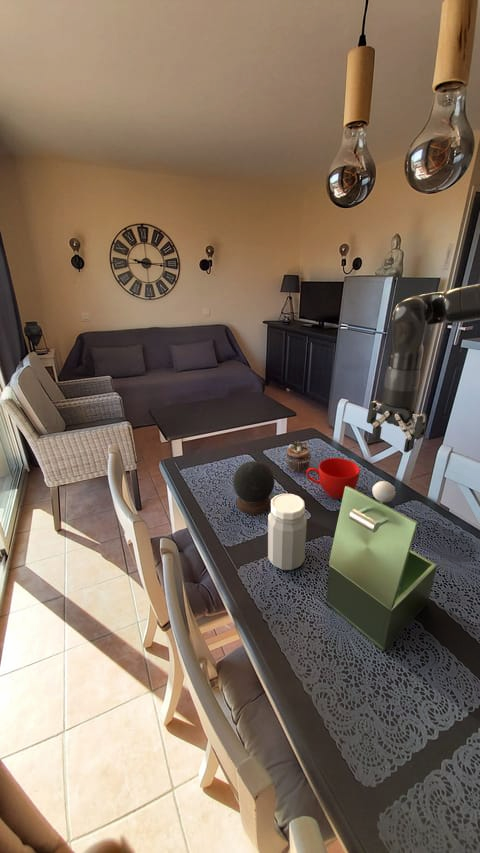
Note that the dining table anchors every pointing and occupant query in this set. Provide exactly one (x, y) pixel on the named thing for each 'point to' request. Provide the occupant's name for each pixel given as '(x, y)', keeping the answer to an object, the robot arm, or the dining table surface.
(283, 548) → the jar
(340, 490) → the ceramic cup
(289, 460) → the cupcake
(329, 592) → the bin
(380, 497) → the lollipop
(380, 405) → the robot arm
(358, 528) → the green lid with handle
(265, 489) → the dark sphere on stand
